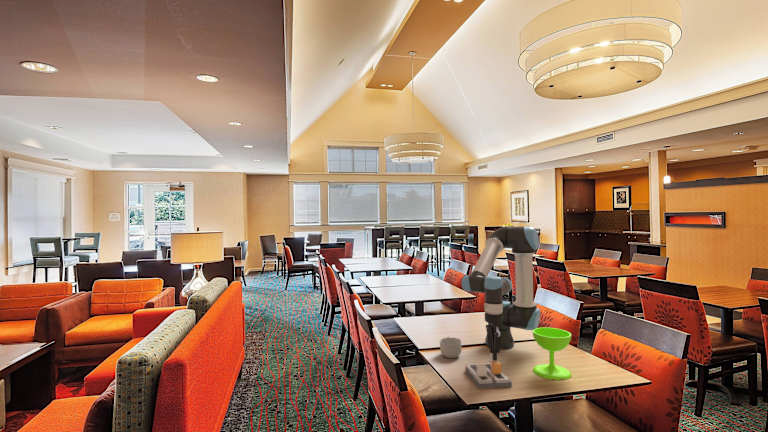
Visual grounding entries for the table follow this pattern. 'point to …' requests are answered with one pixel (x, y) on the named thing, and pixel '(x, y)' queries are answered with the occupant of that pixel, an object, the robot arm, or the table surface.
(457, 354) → the teacup
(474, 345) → the table surface
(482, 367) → the fader
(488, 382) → the console
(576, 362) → the table surface
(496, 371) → the fader
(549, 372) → the wineglass
